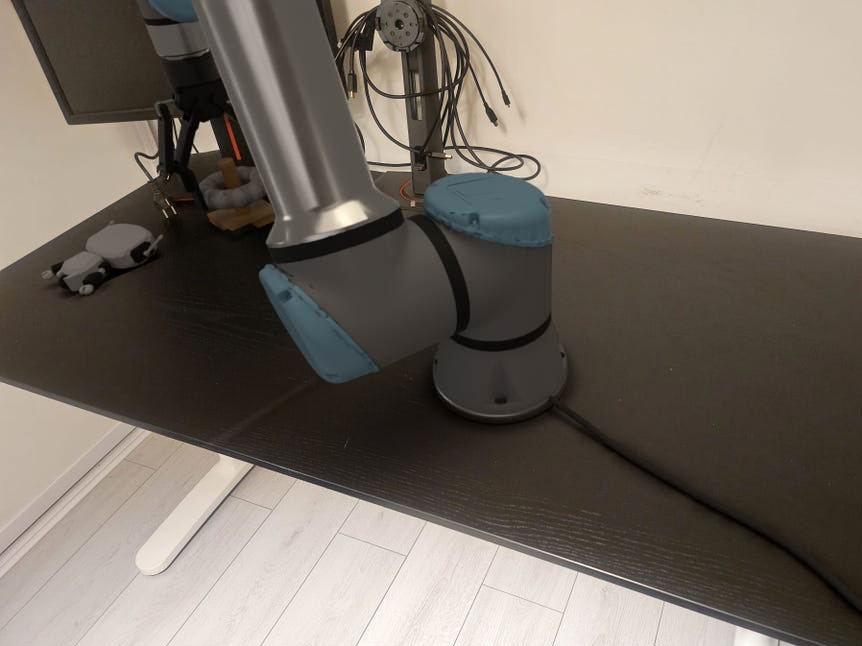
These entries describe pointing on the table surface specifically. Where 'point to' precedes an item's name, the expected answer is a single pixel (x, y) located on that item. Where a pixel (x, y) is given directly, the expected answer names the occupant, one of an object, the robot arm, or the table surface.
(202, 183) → the ring
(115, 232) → the robot toy
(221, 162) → the stand
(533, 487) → the table surface
